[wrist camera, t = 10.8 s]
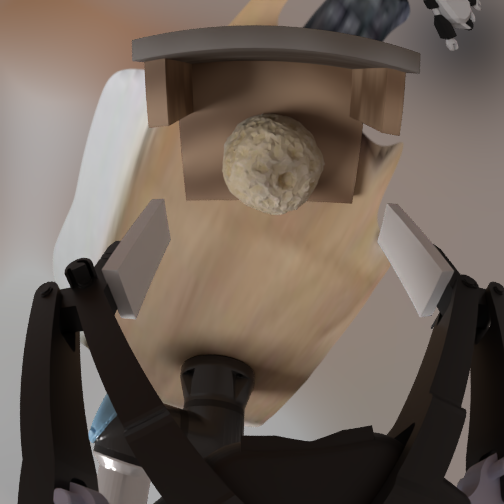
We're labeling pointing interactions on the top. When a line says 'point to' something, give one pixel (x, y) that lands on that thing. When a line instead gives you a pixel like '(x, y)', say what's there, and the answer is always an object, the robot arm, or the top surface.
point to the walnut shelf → (272, 94)
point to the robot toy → (452, 17)
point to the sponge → (272, 163)
